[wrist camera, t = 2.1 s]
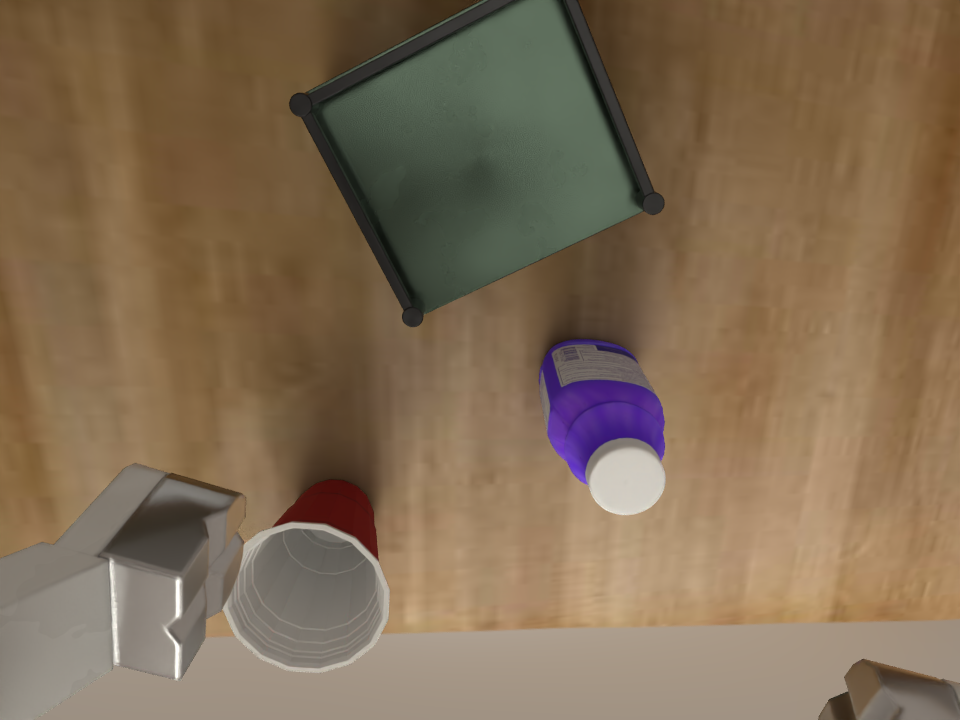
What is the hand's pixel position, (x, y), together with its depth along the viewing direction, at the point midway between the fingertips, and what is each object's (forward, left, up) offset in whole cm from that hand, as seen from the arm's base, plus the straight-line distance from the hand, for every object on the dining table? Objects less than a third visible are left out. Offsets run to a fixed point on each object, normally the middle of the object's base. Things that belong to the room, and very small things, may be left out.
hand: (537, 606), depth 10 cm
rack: (+1, +3, -46) cm, 46 cm away
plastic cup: (-21, -17, -46) cm, 53 cm away
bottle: (+1, -15, -46) cm, 48 cm away
